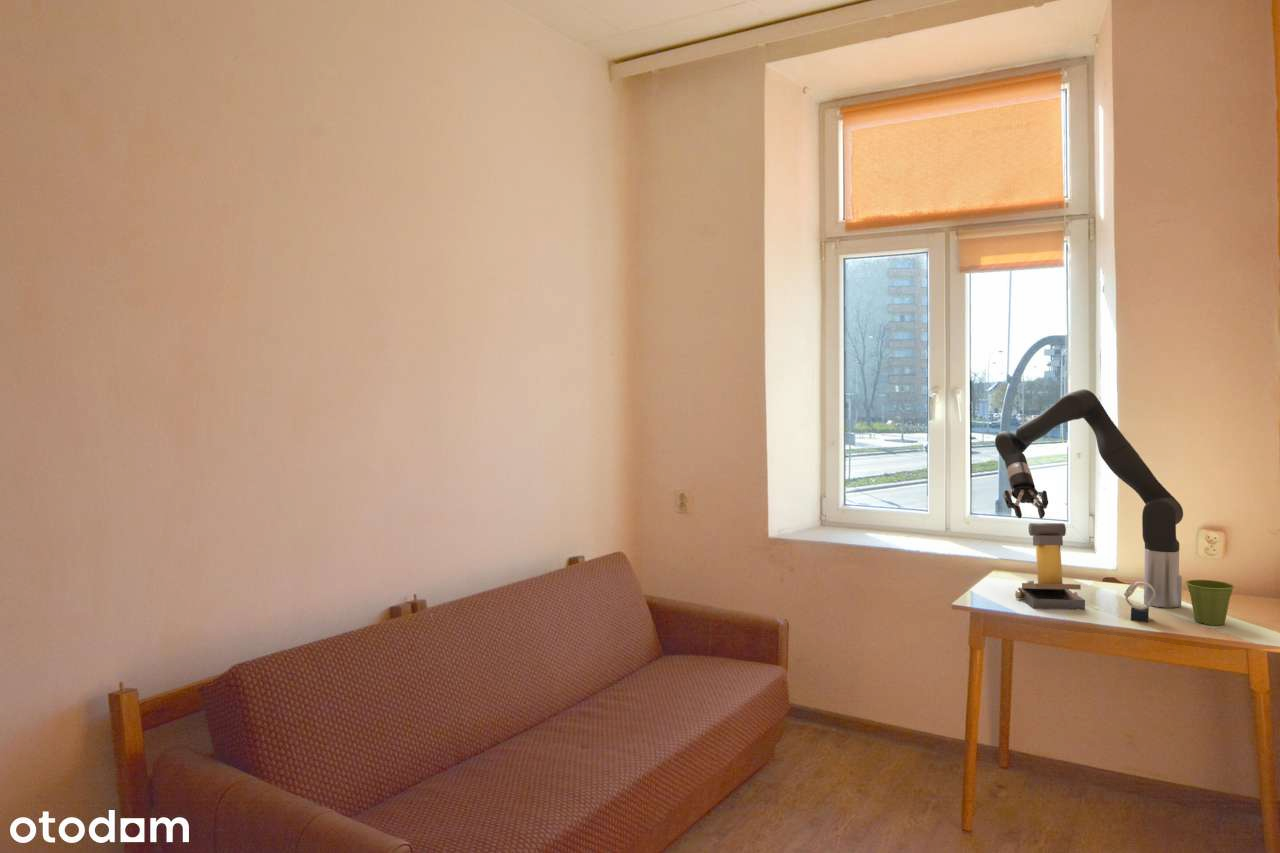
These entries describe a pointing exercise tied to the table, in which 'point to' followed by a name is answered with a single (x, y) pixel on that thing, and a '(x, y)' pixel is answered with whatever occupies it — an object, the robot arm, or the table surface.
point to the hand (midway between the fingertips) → (1031, 516)
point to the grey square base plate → (1051, 598)
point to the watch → (1137, 611)
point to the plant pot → (1210, 600)
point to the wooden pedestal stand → (1048, 556)
